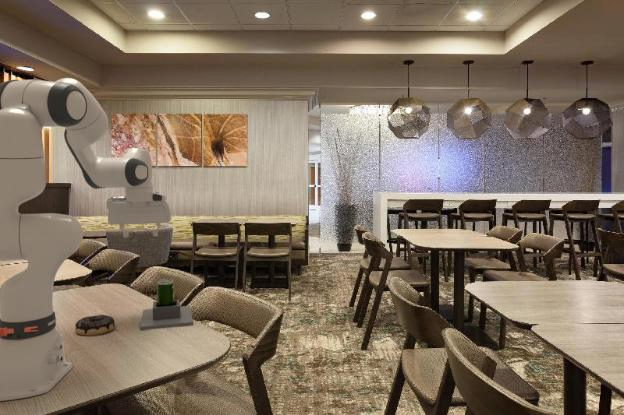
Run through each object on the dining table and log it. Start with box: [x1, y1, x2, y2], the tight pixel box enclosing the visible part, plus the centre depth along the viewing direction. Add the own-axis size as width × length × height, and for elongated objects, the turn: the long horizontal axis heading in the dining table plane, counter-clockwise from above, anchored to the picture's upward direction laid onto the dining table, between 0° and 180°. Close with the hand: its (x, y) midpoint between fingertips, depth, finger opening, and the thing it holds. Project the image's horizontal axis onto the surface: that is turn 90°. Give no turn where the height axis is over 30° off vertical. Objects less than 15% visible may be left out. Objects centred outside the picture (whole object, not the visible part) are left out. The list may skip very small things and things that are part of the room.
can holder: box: [139, 299, 194, 331], centre depth 162 cm, size 20×16×5 cm
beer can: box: [156, 277, 175, 307], centre depth 162 cm, size 5×5×12 cm
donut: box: [74, 314, 116, 336], centre depth 150 cm, size 11×12×4 cm
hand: (140, 237), depth 164 cm, fingers open, 8 cm apart
